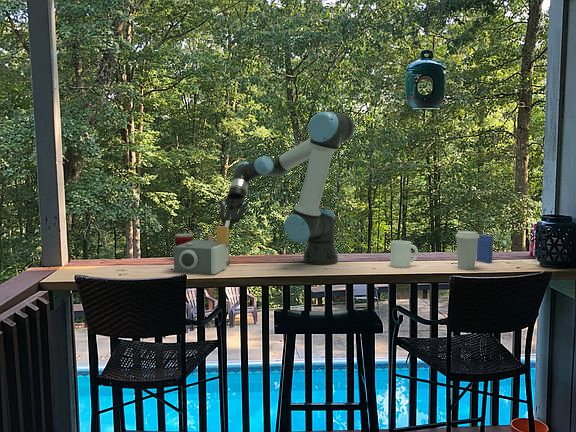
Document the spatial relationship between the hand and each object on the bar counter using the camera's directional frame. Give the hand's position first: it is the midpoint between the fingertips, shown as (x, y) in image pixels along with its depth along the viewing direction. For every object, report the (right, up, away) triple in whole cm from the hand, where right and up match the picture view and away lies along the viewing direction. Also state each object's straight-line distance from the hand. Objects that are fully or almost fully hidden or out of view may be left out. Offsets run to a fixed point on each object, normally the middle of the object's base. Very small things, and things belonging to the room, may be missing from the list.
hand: (225, 234), depth 230 cm
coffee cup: (+100, -14, +3) cm, 101 cm away
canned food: (-20, -12, +21) cm, 32 cm away
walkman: (+111, -13, +18) cm, 114 cm away
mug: (+75, -14, +7) cm, 76 cm away
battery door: (-2, -14, -7) cm, 16 cm away
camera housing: (-9, -14, 0) cm, 16 cm away
